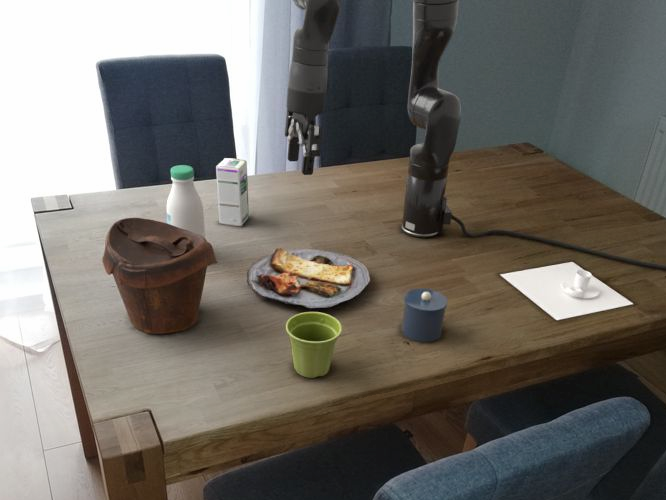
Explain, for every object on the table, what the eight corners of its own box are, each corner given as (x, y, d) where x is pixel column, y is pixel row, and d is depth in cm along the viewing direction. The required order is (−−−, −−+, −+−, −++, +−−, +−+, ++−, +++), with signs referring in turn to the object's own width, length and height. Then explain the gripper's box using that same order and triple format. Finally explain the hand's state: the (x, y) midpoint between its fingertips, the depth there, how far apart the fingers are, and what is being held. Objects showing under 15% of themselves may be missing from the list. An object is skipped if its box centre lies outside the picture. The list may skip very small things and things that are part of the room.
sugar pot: (436, 319, 140) (442, 281, 135) (447, 342, 133) (453, 302, 129) (396, 320, 139) (401, 281, 134) (405, 343, 132) (410, 303, 128)
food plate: (227, 295, 144) (226, 279, 142) (278, 249, 162) (278, 235, 160) (342, 325, 136) (343, 309, 134) (382, 273, 155) (384, 259, 153)
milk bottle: (213, 254, 158) (208, 166, 147) (193, 268, 152) (186, 177, 141) (184, 246, 160) (177, 159, 149) (163, 259, 155) (154, 170, 143)
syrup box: (241, 226, 170) (240, 168, 162) (218, 223, 171) (215, 164, 163) (249, 217, 175) (248, 159, 167) (226, 214, 176) (223, 156, 168)
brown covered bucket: (226, 336, 131) (223, 248, 121) (113, 349, 126) (99, 258, 116) (212, 289, 145) (208, 206, 135) (110, 299, 140) (97, 213, 130)
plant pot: (346, 360, 127) (349, 318, 122) (328, 390, 119) (330, 347, 115) (297, 348, 129) (298, 307, 124) (276, 376, 122) (276, 334, 117)
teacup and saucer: (573, 303, 148) (578, 286, 146) (550, 285, 154) (554, 268, 152) (607, 296, 151) (612, 279, 149) (582, 279, 157) (587, 262, 155)
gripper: (339, 96, 136) (329, 179, 144) (311, 78, 146) (304, 156, 155) (302, 95, 133) (294, 179, 141) (277, 77, 143) (271, 156, 152)
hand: (299, 167), depth 148 cm, fingers open, 8 cm apart
